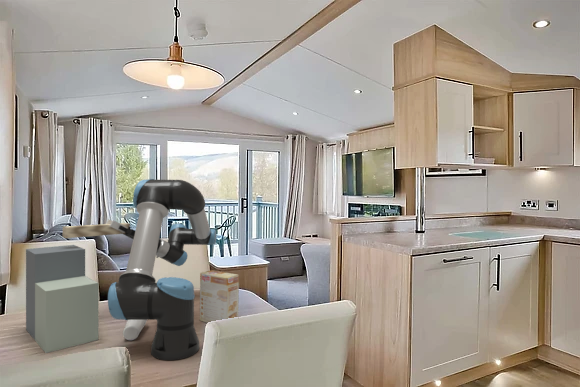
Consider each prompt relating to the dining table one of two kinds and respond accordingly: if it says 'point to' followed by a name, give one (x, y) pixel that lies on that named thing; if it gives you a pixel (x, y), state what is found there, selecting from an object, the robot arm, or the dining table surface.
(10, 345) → the dining table surface
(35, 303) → the two-tone stepped block
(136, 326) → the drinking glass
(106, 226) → the wooden bar
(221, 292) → the coffeecake box
